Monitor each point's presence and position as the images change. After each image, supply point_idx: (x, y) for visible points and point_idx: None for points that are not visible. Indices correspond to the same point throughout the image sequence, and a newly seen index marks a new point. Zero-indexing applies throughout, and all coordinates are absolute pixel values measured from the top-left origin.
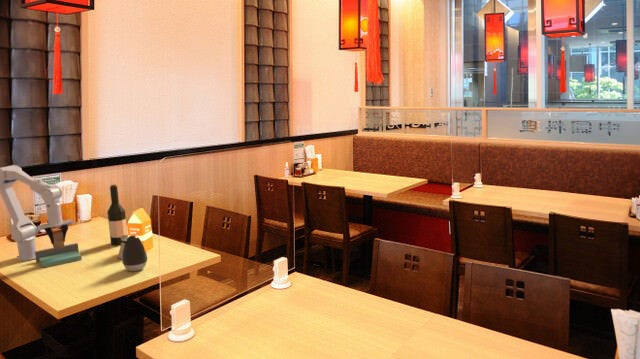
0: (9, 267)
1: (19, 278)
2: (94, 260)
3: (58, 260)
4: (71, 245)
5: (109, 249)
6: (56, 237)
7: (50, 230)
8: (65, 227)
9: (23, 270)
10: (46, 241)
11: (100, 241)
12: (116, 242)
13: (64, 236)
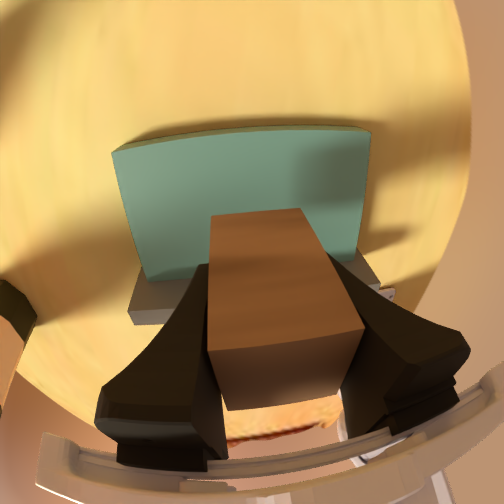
0: (437, 247)
1: (456, 62)
2: (59, 90)
3: (271, 130)
4: (164, 306)
5: (18, 250)
6: (301, 286)
7: (434, 364)
8: (132, 419)
9: (427, 164)
10: (257, 415)
11: (85, 359)
12: (3, 293)
13: (190, 301)
